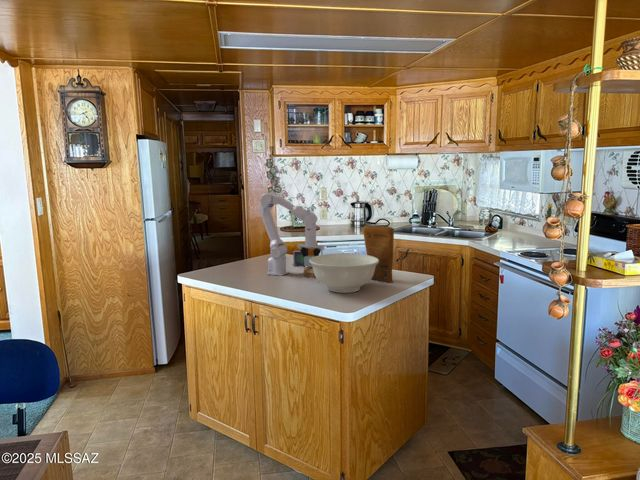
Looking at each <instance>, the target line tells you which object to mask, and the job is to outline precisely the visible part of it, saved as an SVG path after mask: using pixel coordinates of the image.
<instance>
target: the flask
mask: <svg viewBox="0 0 640 480" xmlns="http://www.w3.org/2000/svg"><path fill="white" fill-rule="evenodd" d="M300 249H301V248H299V250H294V251H292V256H293V258H292V260H293V264H292V265H293V267H298V266H304V257H303V255H302V253H301V251H300ZM308 255H310V254H309V253H308Z"/></svg>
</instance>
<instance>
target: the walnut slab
mask: <svg viewBox="0 0 640 480" xmlns="http://www.w3.org/2000/svg"><path fill="white" fill-rule="evenodd" d="M303 276H306V277H305V278H310V277H314V278H316V277H315V274H314V273H313V274H312V273H304V271H303V272H302V277H303Z"/></svg>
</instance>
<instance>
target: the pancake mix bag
mask: <svg viewBox="0 0 640 480" xmlns="http://www.w3.org/2000/svg"><path fill="white" fill-rule="evenodd" d="M362 235H363V240H364V247H365V252H366V253H365V254H366V255H369V256H373V257H375V258H377V259H378V260H379V262H378V264H377V265H376V267H375V271H374V275H373V277H372V278H371V280H372V279H374V280H373V281H376V280H378V281H377V282H381V281H382V282H381V283H384V282H392V283H394V282H393V281H394V280H393V259H394V239H395V236H394V235H395V228H393V227H392V226H383V225H382V226H381V225H379V226H378V225H375V226H374V225H364V226H362Z"/></svg>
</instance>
